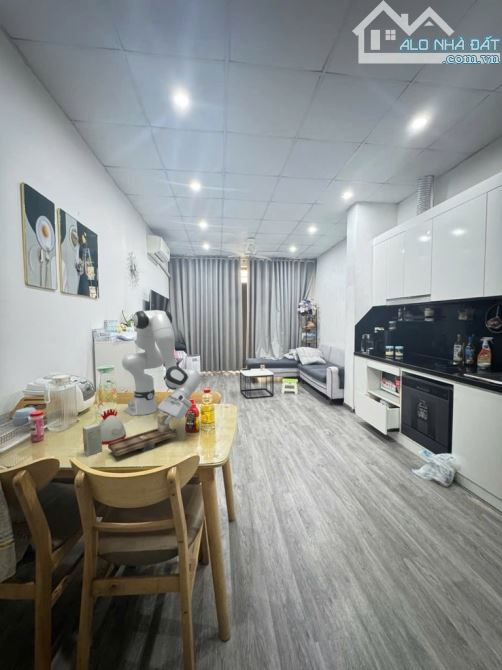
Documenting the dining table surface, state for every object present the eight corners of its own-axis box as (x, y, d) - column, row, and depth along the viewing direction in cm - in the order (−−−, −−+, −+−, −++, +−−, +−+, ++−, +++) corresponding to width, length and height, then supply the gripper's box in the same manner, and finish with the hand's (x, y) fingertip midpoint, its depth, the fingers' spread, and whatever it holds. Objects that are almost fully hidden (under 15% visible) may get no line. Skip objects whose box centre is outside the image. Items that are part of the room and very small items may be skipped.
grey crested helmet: (88, 441, 130) (87, 411, 129) (114, 431, 142) (113, 403, 141) (106, 447, 123) (105, 415, 123) (131, 435, 135) (130, 407, 135)
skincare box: (98, 448, 122) (97, 422, 122) (102, 451, 119) (101, 424, 119) (83, 453, 117) (82, 426, 117) (86, 456, 114) (85, 429, 114)
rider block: (165, 428, 133) (164, 412, 132) (169, 430, 130) (168, 414, 130) (157, 430, 130) (157, 414, 129) (161, 432, 127) (161, 416, 127)
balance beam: (166, 433, 137) (166, 424, 137) (177, 440, 129) (177, 430, 129) (108, 453, 117) (107, 442, 117) (117, 462, 109) (116, 450, 109)
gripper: (165, 391, 141) (148, 413, 135) (185, 398, 127) (167, 424, 120) (173, 397, 145) (156, 420, 138) (194, 405, 130) (176, 430, 124)
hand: (162, 422), depth 129 cm, fingers closed on rider block, 4 cm apart
